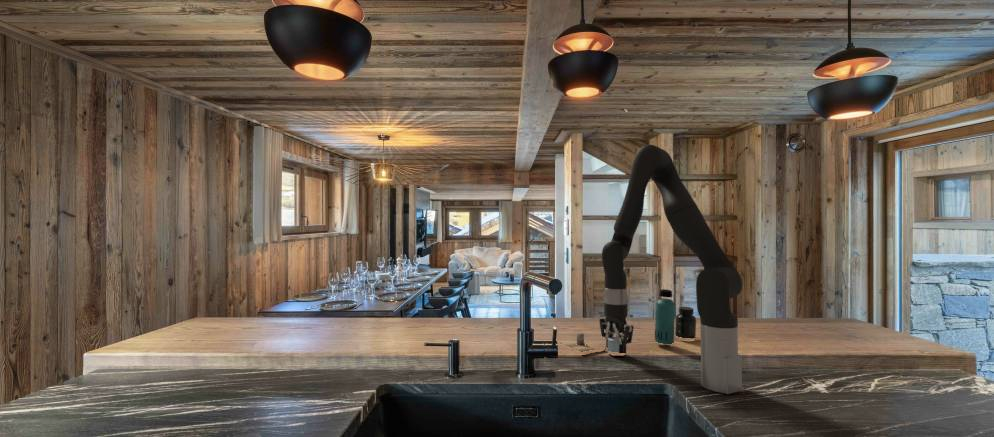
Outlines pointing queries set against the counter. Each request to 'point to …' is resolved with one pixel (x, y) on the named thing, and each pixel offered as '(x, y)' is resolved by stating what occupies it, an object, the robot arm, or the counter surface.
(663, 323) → the beverage bottle
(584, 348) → the board
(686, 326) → the supplement bottle
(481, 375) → the counter surface
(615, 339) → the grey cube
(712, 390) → the robot arm
